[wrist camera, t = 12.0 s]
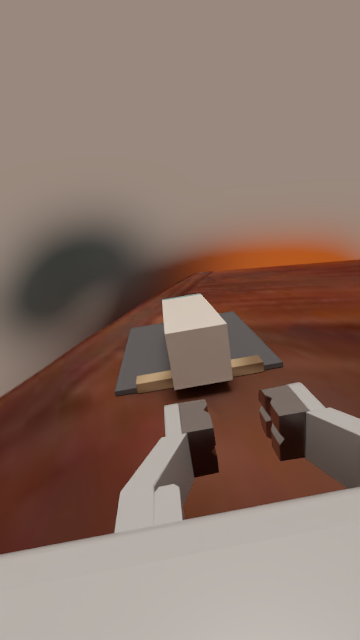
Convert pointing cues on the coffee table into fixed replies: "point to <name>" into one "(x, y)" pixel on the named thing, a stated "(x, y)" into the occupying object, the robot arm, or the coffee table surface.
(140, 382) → the oak stop strip
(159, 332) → the charcoal rubber mat
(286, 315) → the coffee table surface
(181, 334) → the cream block
